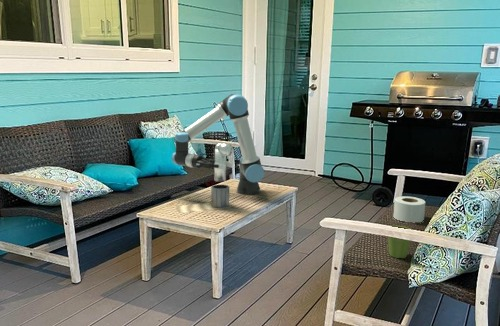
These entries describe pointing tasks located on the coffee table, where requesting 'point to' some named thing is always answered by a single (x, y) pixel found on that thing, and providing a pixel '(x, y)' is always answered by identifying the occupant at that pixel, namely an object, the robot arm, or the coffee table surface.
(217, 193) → the grey wooden bucket
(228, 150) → the polished capsule rod
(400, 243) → the plant pot
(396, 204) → the toilet paper roll
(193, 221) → the coffee table surface
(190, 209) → the birch board
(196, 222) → the coffee table surface
